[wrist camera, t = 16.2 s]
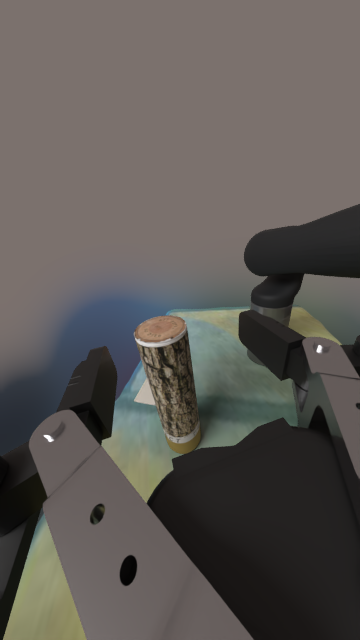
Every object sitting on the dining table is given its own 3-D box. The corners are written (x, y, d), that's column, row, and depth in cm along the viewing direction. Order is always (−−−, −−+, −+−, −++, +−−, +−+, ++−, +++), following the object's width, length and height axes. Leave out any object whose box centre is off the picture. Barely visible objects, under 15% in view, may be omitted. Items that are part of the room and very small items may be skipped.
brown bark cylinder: (187, 412, 38) (169, 311, 26) (208, 439, 32) (197, 327, 21) (161, 432, 35) (126, 327, 23) (178, 465, 29) (146, 351, 18)
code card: (153, 366, 52) (153, 366, 52) (191, 370, 48) (191, 370, 48) (134, 401, 42) (133, 401, 42) (180, 409, 38) (180, 409, 38)
